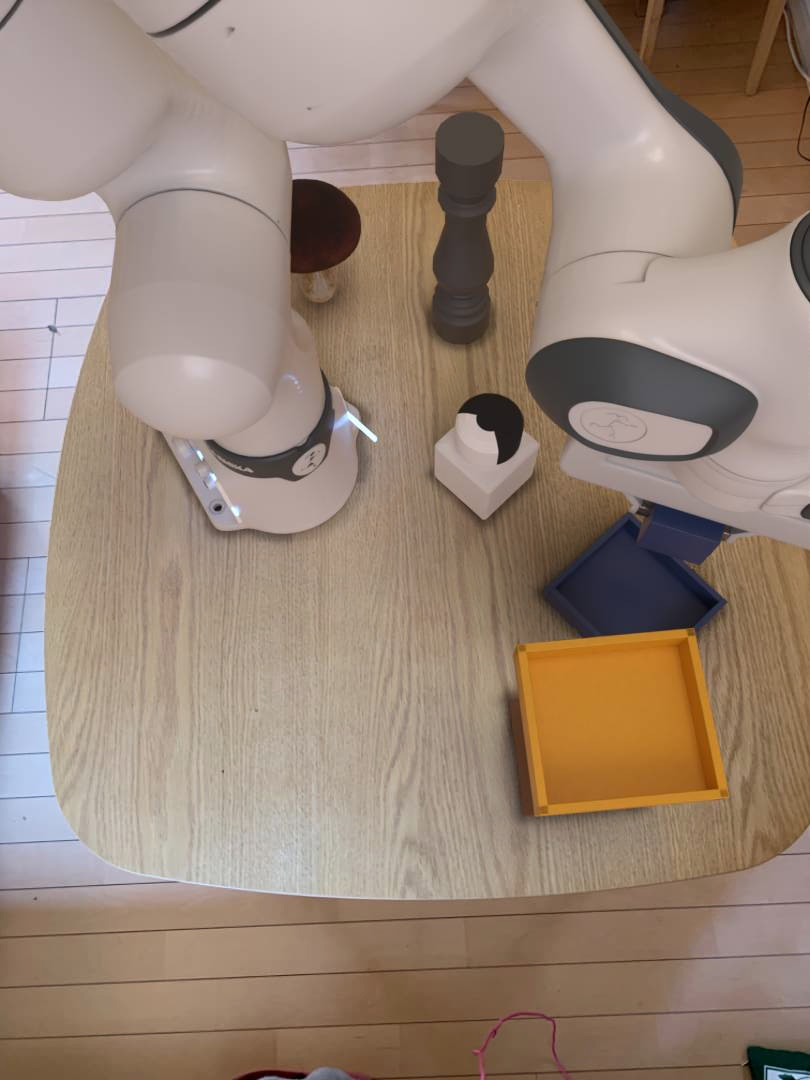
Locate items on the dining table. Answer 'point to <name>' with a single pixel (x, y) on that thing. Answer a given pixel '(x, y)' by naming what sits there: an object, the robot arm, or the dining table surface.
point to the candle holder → (465, 224)
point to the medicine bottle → (486, 453)
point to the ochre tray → (614, 724)
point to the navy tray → (630, 588)
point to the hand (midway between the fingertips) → (681, 519)
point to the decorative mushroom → (321, 235)
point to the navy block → (679, 534)
